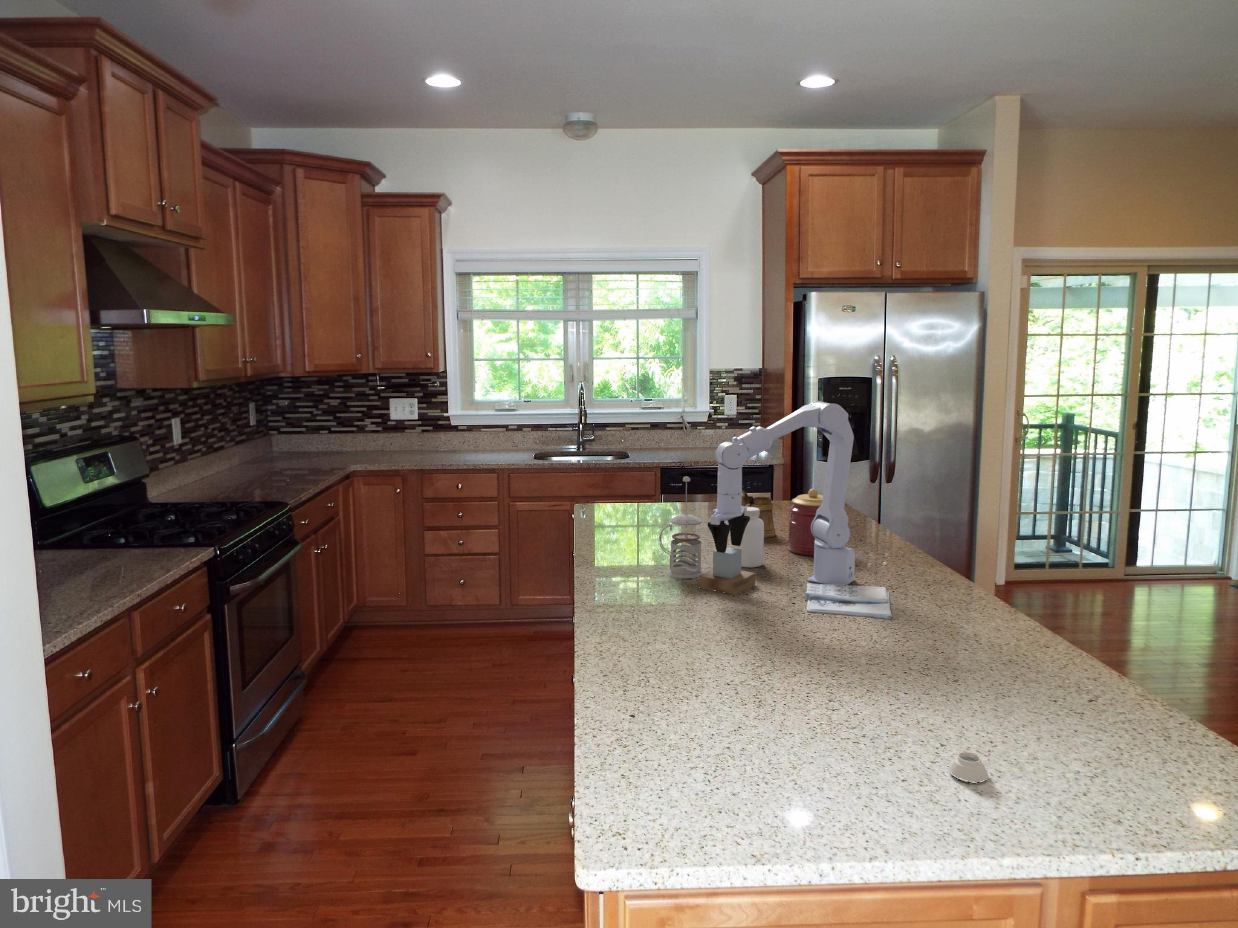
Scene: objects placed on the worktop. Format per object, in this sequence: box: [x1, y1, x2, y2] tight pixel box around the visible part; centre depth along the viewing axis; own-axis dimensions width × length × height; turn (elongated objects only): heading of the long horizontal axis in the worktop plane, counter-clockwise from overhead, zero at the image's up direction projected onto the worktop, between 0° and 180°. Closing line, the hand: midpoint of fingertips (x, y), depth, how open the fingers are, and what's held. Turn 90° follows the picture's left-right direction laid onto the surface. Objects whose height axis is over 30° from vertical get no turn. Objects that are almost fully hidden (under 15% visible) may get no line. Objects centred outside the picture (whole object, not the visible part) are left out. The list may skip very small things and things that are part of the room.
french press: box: [658, 476, 705, 579], centre depth 217 cm, size 10×12×25 cm
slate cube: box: [712, 546, 742, 579], centre depth 206 cm, size 5×5×6 cm
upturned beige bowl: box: [948, 751, 989, 782], centre depth 119 cm, size 5×3×5 cm
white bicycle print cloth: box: [804, 582, 893, 620], centre depth 195 cm, size 19×20×2 cm
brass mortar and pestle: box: [741, 487, 777, 539], centre depth 259 cm, size 9×14×18 cm, turn 91°
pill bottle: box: [732, 506, 765, 568], centre depth 226 cm, size 8×8×15 cm
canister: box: [787, 488, 823, 557], centre depth 240 cm, size 13×13×18 cm
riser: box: [698, 569, 756, 596], centre depth 207 cm, size 10×10×3 cm
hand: (728, 548), depth 206 cm, fingers open, 7 cm apart
